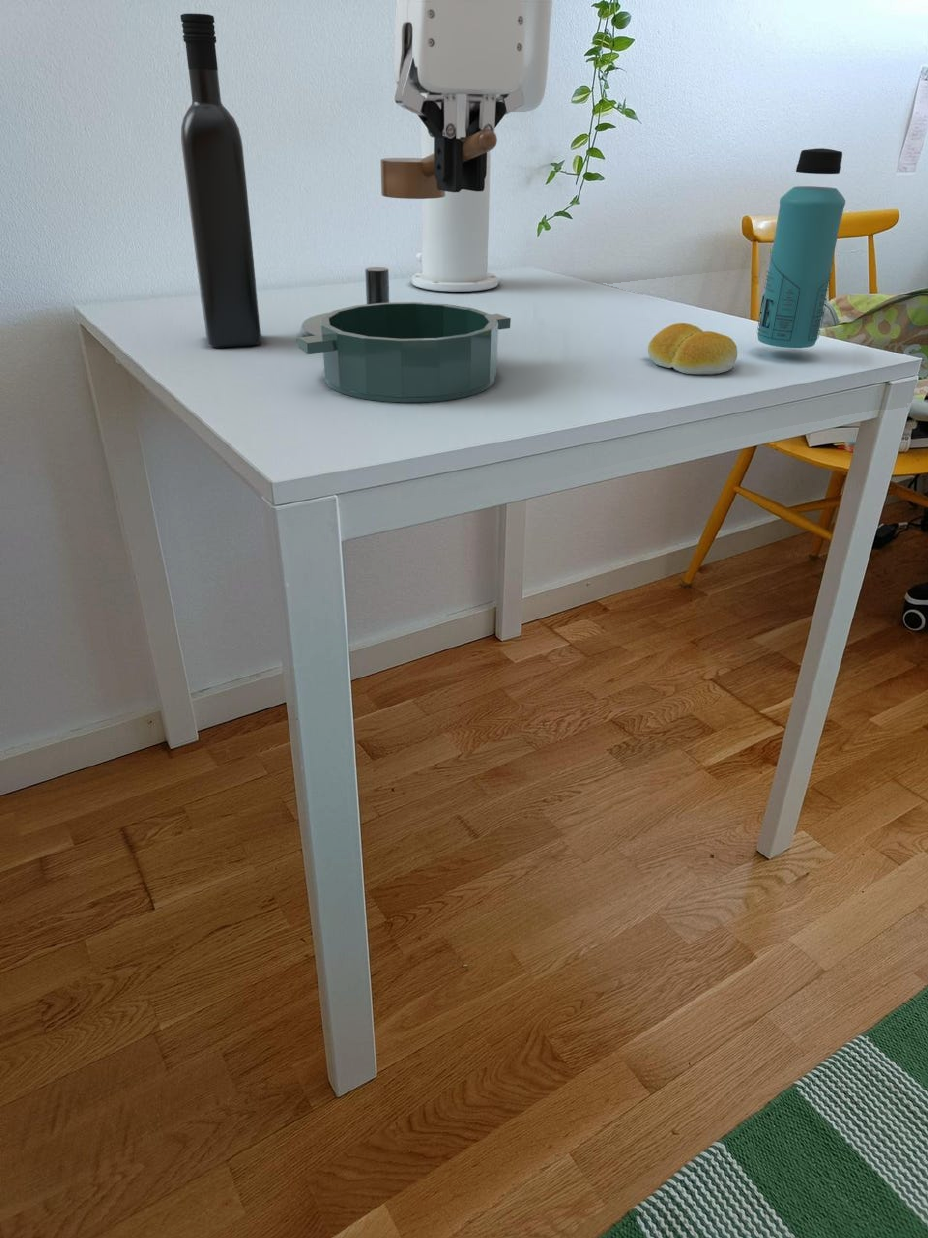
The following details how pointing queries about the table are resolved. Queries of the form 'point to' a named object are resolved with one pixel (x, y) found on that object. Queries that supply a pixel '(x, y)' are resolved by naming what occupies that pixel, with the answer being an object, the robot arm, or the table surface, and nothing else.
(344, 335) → the pot
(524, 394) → the table surface
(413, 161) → the brown handled cylinder
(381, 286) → the pot lid
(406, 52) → the robot arm
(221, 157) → the wine bottle
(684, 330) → the bread roll
